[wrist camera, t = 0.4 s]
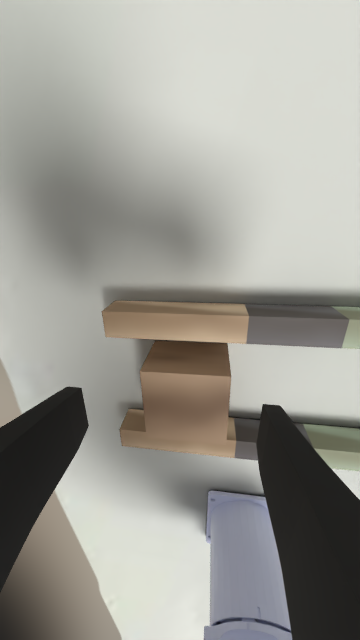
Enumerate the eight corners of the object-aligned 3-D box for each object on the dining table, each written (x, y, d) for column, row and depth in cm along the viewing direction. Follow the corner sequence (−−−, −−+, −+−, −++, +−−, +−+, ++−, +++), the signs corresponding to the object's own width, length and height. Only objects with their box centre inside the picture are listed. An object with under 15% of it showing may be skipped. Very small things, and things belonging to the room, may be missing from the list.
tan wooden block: (223, 402, 21) (226, 445, 17) (159, 397, 22) (146, 437, 18) (227, 343, 19) (231, 376, 15) (155, 340, 20) (139, 371, 16)
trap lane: (490, 458, 20) (534, 496, 17) (130, 424, 24) (119, 450, 21) (589, 313, 15) (675, 333, 12) (115, 300, 19) (98, 313, 16)
